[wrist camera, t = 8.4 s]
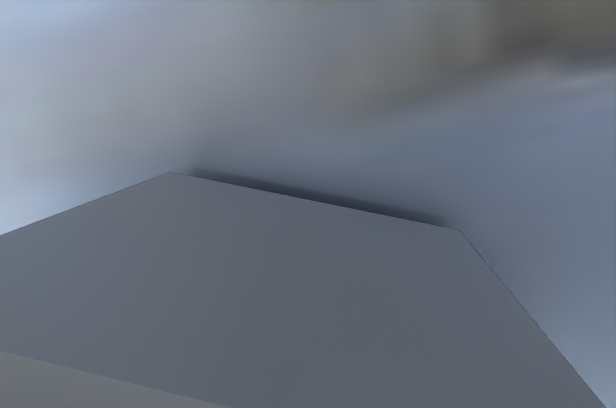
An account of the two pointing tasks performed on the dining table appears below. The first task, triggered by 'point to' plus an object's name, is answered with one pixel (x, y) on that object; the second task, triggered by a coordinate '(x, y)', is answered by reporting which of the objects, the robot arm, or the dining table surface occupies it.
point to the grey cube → (261, 309)
